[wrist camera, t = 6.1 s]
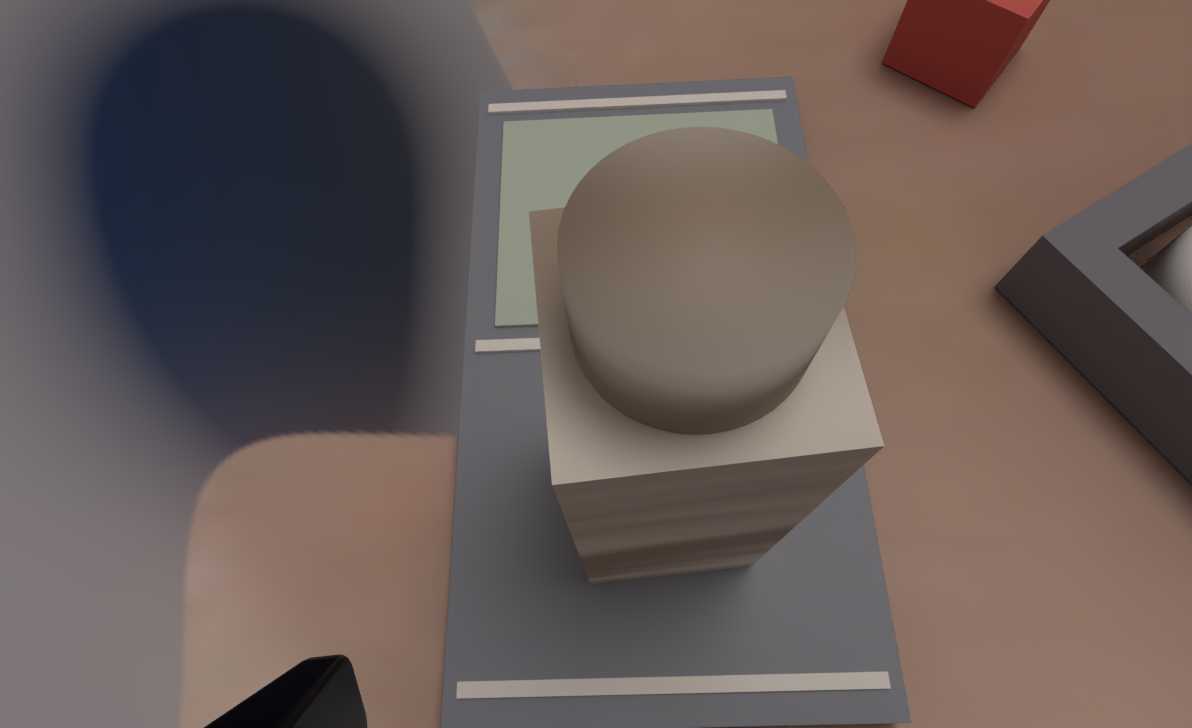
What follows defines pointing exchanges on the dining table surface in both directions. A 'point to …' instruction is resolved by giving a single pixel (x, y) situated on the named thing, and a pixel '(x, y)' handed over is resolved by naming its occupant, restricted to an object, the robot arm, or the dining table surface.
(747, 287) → the capped square post
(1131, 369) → the dome housing
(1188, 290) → the dome button
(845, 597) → the board
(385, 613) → the dining table surface
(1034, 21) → the red die
